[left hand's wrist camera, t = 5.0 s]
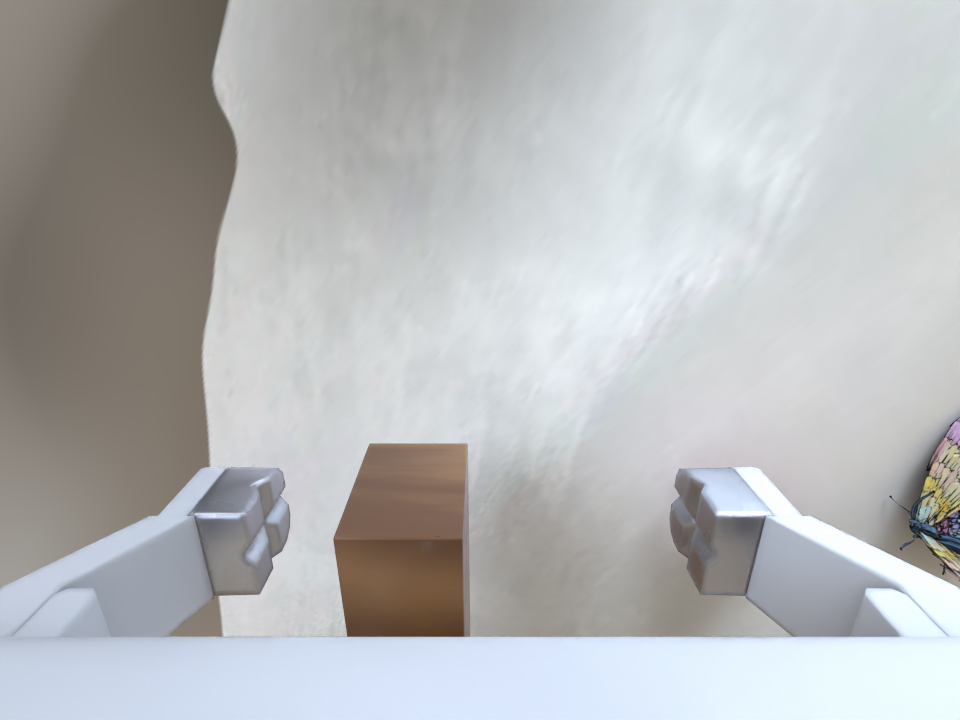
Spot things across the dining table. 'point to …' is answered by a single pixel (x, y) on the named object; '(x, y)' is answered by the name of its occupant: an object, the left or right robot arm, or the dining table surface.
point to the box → (407, 543)
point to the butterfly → (941, 503)
